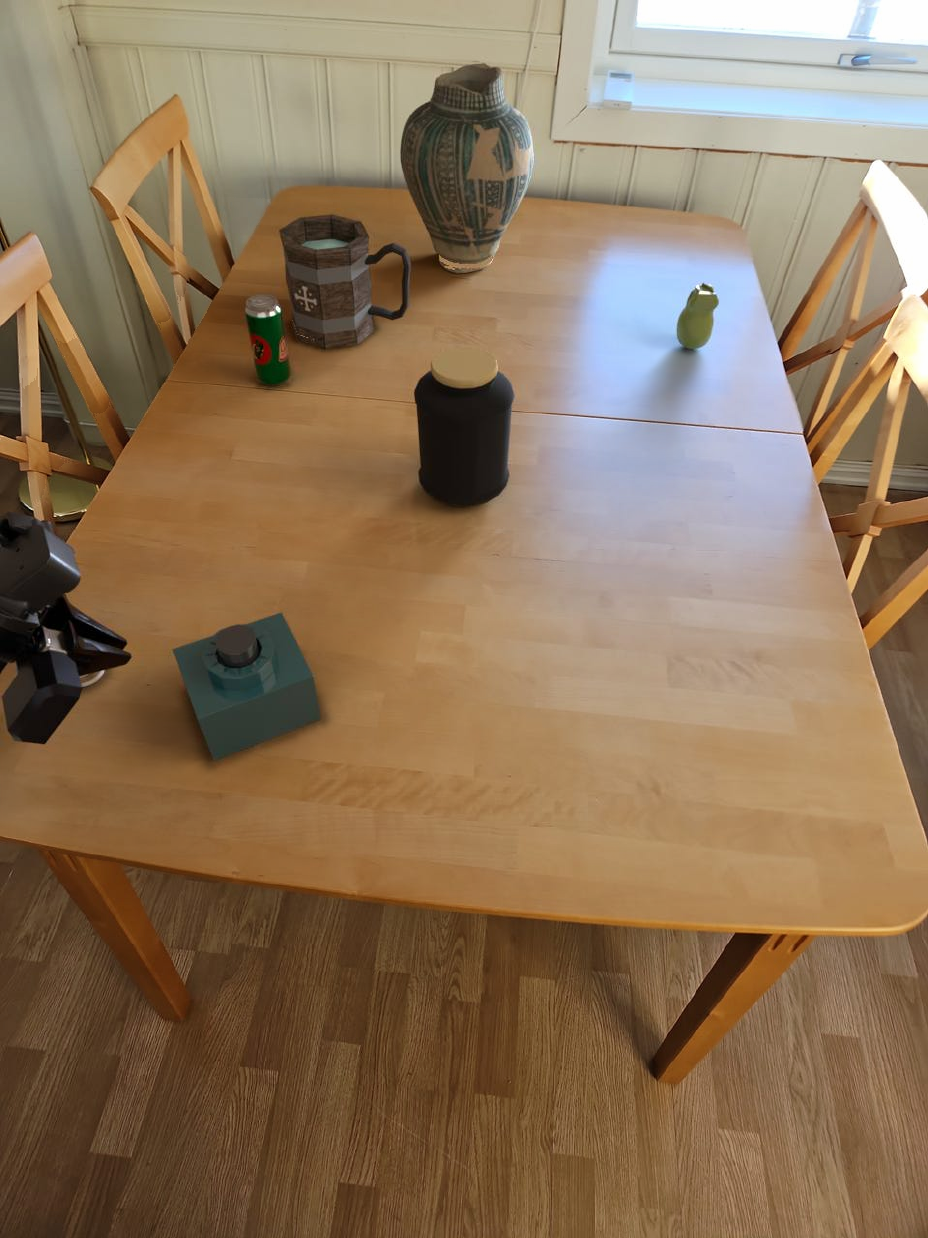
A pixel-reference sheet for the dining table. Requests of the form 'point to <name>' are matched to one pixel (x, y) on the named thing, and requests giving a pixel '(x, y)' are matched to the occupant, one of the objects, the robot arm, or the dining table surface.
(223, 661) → the dark brown button
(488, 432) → the container
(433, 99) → the vase
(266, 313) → the soda can
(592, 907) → the dining table surface
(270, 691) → the teal push button box
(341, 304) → the mug
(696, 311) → the pear
